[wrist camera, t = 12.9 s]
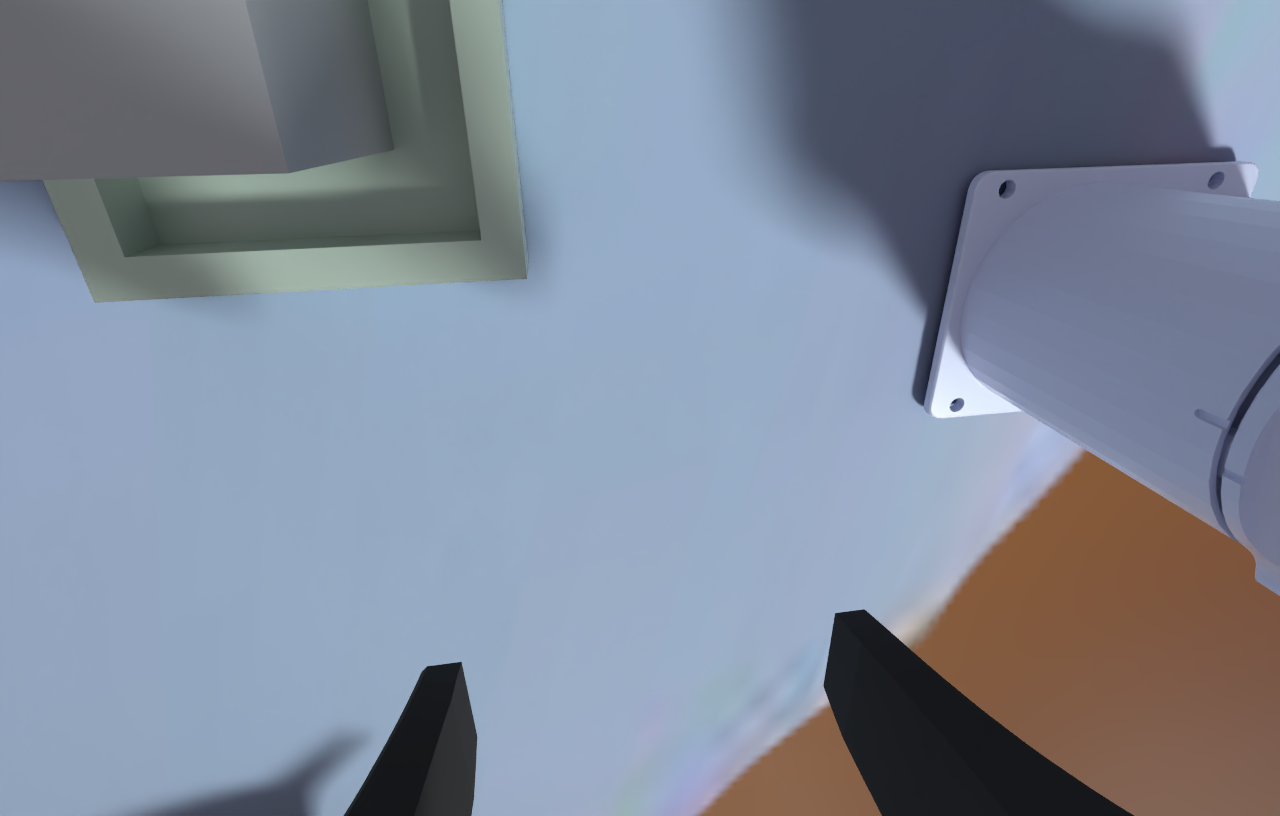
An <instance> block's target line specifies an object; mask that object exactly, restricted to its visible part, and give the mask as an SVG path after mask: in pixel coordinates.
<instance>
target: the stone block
mask: <svg viewBox="0 0 1280 816" xmlns="http://www.w3.org/2000/svg"><path fill="white" fill-rule="evenodd" d="M391 150H394V146H393V140H392V135H391V129H390V124H389V118H388V112H387V107H386V101H385V95H384V90H383V84H382V79H381V73H380V67H379V62H378V56H377V50H376V45H375V39H374V34H373V28H372V22H371V17H370V11H369V5H368V0H0V181H22V180H60V179H97V178H135V177H173V176H211V175H249V174H287V173H293V172H297V171H302V170H306V169H311V168H315V167H320V166H324V165H329V164H333V163H338V162H342V161H347V160H351V159H356V158H360V157H365V156H369V155H374V154H378V153H383V152H387V151H391Z"/></svg>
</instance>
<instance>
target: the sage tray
mask: <svg viewBox="0 0 1280 816" xmlns="http://www.w3.org/2000/svg"><path fill="white" fill-rule="evenodd" d="M368 5H369V11H370V17H371V22H372V28H373V34H374V39H375V45H376V50H377V56H378V62H379V67H380V73H381V79H382V84H383V90H384V95H385V101H386V107H387V112H388V118H389V124H390V129H391V135H392V140H393V146H394V150H391V151H387V152H383V153H378V154H374V155H369V156H365V157H360V158H356V159H351V160H347V161H342V162H338V163H333V164H329V165H324V166H320V167H315V168H311V169H306V170H302V171H297V172H293V173H287V174H249V175H211V176H173V177H135V178H97V179H60V180H42V181H43V183H44V185H45V188H46V190H47V192H48V195H49V197H50V199H51V202H52V204H53V206H54V209H55V211H56V213H57V216H58V218H59V220H60V223H61V225H62V227H63V230H64V232H65V234H66V237H67V239H68V241H69V244H70V246H71V248H72V251H73V253H74V255H75V258H76V260H77V262H78V265H79V267H80V269H81V272H82V274H83V276H84V279H85V281H86V283H87V286H88V288H89V290H90V293H91V295H92V297H93V300H94V302H95V303H96V302H114V301H132V300H150V299H168V298H186V297H204V296H222V295H240V294H258V293H276V292H294V291H312V290H330V289H348V288H366V287H384V286H402V285H420V284H439V283H457V282H475V281H493V280H511V279H527V274H528V263H529V261H528V251H527V241H526V231H525V222H524V212H523V202H522V192H521V182H520V172H519V162H518V153H517V143H516V133H515V123H514V113H513V103H512V93H511V83H510V74H509V64H508V54H507V44H506V34H505V24H504V14H503V5H502V0H368Z"/></svg>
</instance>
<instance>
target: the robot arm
mask: <svg viewBox="0 0 1280 816" xmlns="http://www.w3.org/2000/svg"><path fill="white" fill-rule="evenodd" d="M1257 177H1258V167H1257V165H1256V164H1255V163H1252V162H1243V161H1234V162H1207V163H1180V164H1153V165H1126V166H1100V167H1073V168H1046V169H1019V170H992V171H984V172H981V173H980V174H978V175H977V176H975V178H974V179H973V180H972V182H971V183H970V186H969V189H968V193H967V198H966V203H965V207H964V212H963V217H962V222H961V227H960V232H959V236H958V241H957V246H956V251H955V256H954V261H953V266H952V270H951V275H950V280H949V285H948V290H947V295H946V300H945V304H944V309H943V314H942V319H941V324H940V329H939V334H938V338H937V343H936V348H935V353H934V358H933V363H932V368H931V372H930V377H929V382H928V387H927V392H926V397H925V402H924V409H925V411H926V412H927V413H928V414H930V415H931V416H932V417H934V418H939V419H941V418H952V417H963V416H974V415H985V414H996V413H1007V412H1018V411H1024V412H1025V413H1027V414H1029V415H1030V416H1032V417H1034V418H1035V419H1037V420H1039V421H1040V422H1042V423H1043V424H1045V425H1047V426H1048V427H1050V428H1052V429H1053V430H1055V431H1057V432H1058V433H1060V434H1061V435H1063V436H1065V437H1066V438H1068V439H1070V440H1071V441H1073V442H1075V443H1076V444H1078V445H1079V446H1081V447H1083V448H1084V449H1086V450H1088V451H1089V452H1091V453H1093V454H1094V455H1096V456H1098V457H1099V458H1101V459H1102V460H1104V461H1106V462H1107V463H1109V464H1111V465H1112V466H1114V467H1115V468H1117V469H1119V470H1120V471H1122V472H1124V473H1125V474H1127V475H1129V476H1130V477H1132V478H1133V479H1135V480H1137V481H1138V482H1140V483H1142V484H1143V485H1145V486H1147V487H1148V488H1150V489H1151V490H1153V491H1155V492H1156V493H1158V494H1160V495H1162V496H1163V497H1165V498H1166V499H1168V500H1169V501H1171V502H1173V503H1175V504H1176V505H1178V506H1180V507H1181V508H1183V509H1184V510H1186V511H1188V512H1189V513H1191V514H1192V515H1194V516H1196V517H1197V518H1199V519H1201V520H1202V521H1204V522H1205V523H1207V524H1209V525H1210V526H1212V527H1214V528H1215V529H1217V530H1219V531H1220V532H1222V533H1224V534H1225V535H1227V536H1228V537H1230V538H1232V539H1234V540H1235V541H1237V542H1240V543H1241V544H1243V545H1244V546H1245V547H1246V548H1247V549H1248V550H1249V551H1250V552H1251V553H1252V554H1253V555H1254V558H1255V560H1256V572H1255V579H1256V581H1258V582H1259V583H1261V584H1262V585H1264V586H1265V587H1267V588H1269V589H1270V590H1272V591H1273V592H1275V593H1276V594H1278V595H1279V596H1280V201H1272V200H1263V199H1255V198H1250V195H1251V193H1252V190H1253V188H1254V185H1255V183H1256V180H1257ZM1210 178H1211V180H1210V182H1209V183H1208V181H1209V179H1210ZM1003 182H1006V189H1005V192H1004V193H1003V194H1002V195H1001V196H1000V195H999V188H1000V186H1001V184H1002V183H1003ZM954 399H957V401H956V403H955V404H954V405H953V406H950V404H951V402H952V401H953V400H954ZM824 688H825V691H826V694H827V697H828V700H829V702H830V705H831V708H832V710H833V713H834V716H835V719H836V721H837V723H838V726H839V729H840V731H841V734H842V737H843V739H844V741H845V743H846V745H847V747H848V749H849V751H850V753H851V755H852V757H853V759H854V761H855V763H856V765H857V767H858V769H859V771H860V773H861V775H862V777H863V779H864V781H865V783H866V785H867V787H868V789H869V791H870V793H871V795H872V797H873V799H874V801H875V803H876V804H877V807H878V809H879V811H880V812H881V814H882V816H1134V815H1132V814H1131V813H1129V812H1127V811H1125V810H1124V809H1122V808H1121V807H1119V806H1117V805H1116V804H1114V803H1113V802H1111V801H1110V800H1108V799H1106V798H1105V797H1103V796H1102V795H1100V794H1099V793H1097V792H1095V791H1094V790H1092V789H1091V788H1089V787H1088V786H1087V785H1085V784H1084V783H1082V782H1081V781H1079V780H1078V779H1076V778H1075V777H1073V776H1072V775H1070V774H1069V773H1067V772H1066V771H1064V770H1063V769H1062V768H1060V767H1059V766H1057V765H1056V764H1054V763H1052V762H1051V761H1050V760H1048V759H1047V758H1045V757H1044V756H1043V755H1041V754H1040V753H1039V752H1037V751H1036V750H1034V749H1033V748H1031V747H1030V746H1029V745H1027V744H1026V743H1025V742H1023V741H1022V740H1021V739H1019V738H1018V737H1017V736H1015V735H1014V734H1013V733H1011V732H1010V731H1009V730H1008V729H1006V728H1005V727H1004V726H1002V725H1001V724H1000V723H998V722H997V721H996V720H994V719H993V718H992V717H990V716H989V715H988V714H987V713H985V712H984V711H983V710H981V709H980V708H979V707H978V706H976V705H975V704H974V703H973V702H972V701H970V700H969V699H968V698H967V697H965V696H964V695H963V694H962V693H961V692H960V691H958V690H957V689H956V688H955V687H953V686H952V685H951V684H950V683H949V682H947V681H946V680H945V679H944V678H942V677H941V676H940V675H939V674H938V673H937V672H936V671H934V670H933V669H932V668H931V667H930V666H929V665H927V664H926V663H925V662H924V661H923V660H922V659H921V658H919V657H918V656H917V655H916V654H915V653H914V652H912V651H911V650H910V649H909V648H908V647H907V646H906V645H904V644H903V643H902V642H901V641H900V640H899V639H898V638H897V637H895V636H894V635H893V634H892V633H891V632H890V631H889V630H887V629H886V628H885V627H884V626H883V625H882V624H881V623H879V622H878V621H877V620H876V619H875V618H874V617H873V616H871V615H870V614H869V613H868V612H867V611H866V610H857V611H849V612H841V613H835V618H834V624H833V631H832V637H831V643H830V649H829V655H828V662H827V668H826V674H825V680H824ZM476 749H477V733H476V729H475V724H474V719H473V715H472V710H471V705H470V700H469V696H468V691H467V686H466V681H465V677H464V672H463V667H462V662H458V663H450V664H442V665H435V666H427V667H426V668H425V669H424V670H423V671H422V673H421V675H420V677H419V679H418V681H417V684H416V686H415V688H414V690H413V692H412V694H411V696H410V698H409V700H408V702H407V704H406V706H405V708H404V710H403V712H402V714H401V716H400V718H399V720H398V722H397V724H396V726H395V728H394V730H393V731H392V733H391V735H390V737H389V739H388V741H387V743H386V745H385V746H384V748H383V750H382V752H381V753H380V755H379V757H378V759H377V760H376V762H375V764H374V766H373V767H372V769H371V771H370V773H369V775H368V776H367V778H366V780H365V782H364V783H363V785H362V787H361V789H360V790H359V792H358V794H357V795H356V797H355V799H354V800H353V802H352V803H351V805H350V807H349V808H348V810H347V811H346V813H345V815H344V816H471V814H472V807H473V800H474V787H475V770H476Z"/></svg>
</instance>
